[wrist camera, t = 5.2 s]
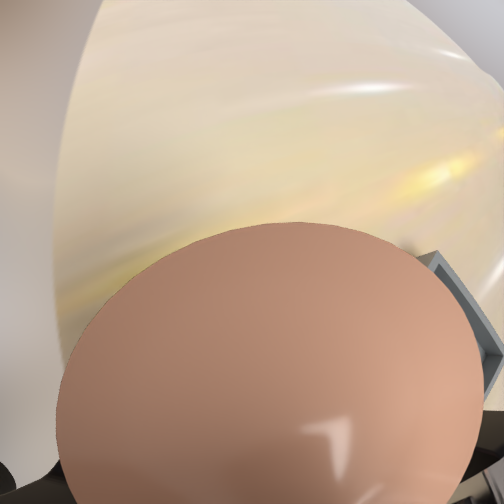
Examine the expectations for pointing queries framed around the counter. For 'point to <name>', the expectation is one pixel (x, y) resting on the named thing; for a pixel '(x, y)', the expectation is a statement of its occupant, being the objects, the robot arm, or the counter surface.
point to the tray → (471, 319)
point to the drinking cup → (6, 480)
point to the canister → (274, 377)
